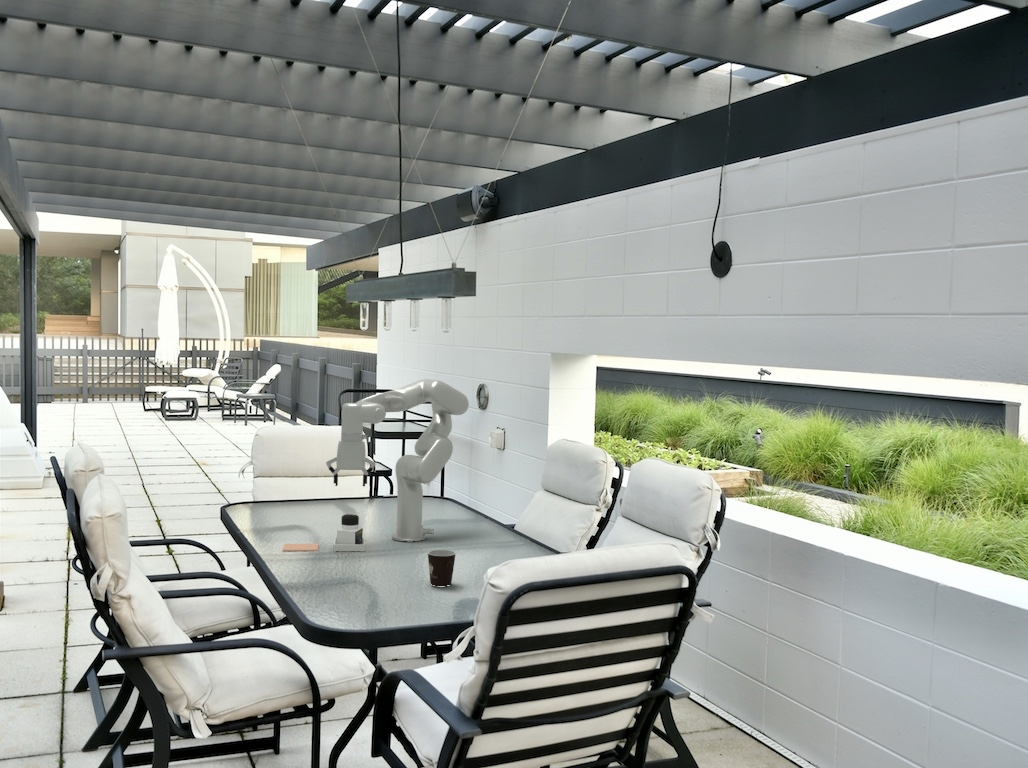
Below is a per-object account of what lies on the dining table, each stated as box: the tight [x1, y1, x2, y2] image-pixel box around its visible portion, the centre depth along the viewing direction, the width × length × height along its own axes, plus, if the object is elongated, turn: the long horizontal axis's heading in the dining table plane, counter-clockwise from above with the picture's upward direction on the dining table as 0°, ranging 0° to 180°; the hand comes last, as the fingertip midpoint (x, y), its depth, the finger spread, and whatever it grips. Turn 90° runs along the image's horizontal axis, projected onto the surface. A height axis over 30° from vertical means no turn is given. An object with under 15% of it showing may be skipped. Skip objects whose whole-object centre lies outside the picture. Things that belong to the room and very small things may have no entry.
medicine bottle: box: [336, 513, 364, 544], centre depth 335 cm, size 7×7×12 cm
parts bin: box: [333, 537, 366, 552], centre depth 335 cm, size 11×11×2 cm
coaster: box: [281, 543, 320, 551], centre depth 332 cm, size 12×10×1 cm
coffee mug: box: [427, 549, 457, 586], centre depth 288 cm, size 12×9×10 cm
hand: (350, 485), depth 334 cm, fingers open, 9 cm apart
